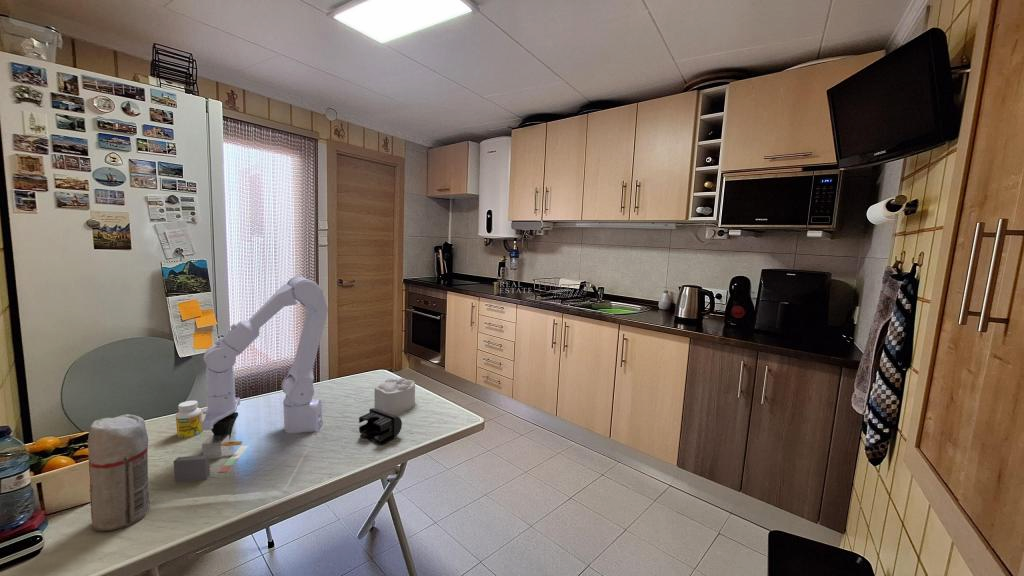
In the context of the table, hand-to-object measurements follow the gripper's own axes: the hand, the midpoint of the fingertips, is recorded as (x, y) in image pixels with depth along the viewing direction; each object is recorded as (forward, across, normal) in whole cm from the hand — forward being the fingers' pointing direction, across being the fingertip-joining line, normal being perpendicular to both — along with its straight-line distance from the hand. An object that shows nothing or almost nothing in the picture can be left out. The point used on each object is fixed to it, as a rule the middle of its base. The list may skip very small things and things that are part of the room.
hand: (223, 443), depth 100 cm
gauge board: (+2, +6, 0) cm, 7 cm away
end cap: (+2, -3, +38) cm, 38 cm away
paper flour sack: (+2, +23, -7) cm, 25 cm away
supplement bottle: (+2, -9, -12) cm, 15 cm away
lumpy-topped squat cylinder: (+2, -23, +41) cm, 47 cm away
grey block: (+1, +3, +2) cm, 4 cm away
